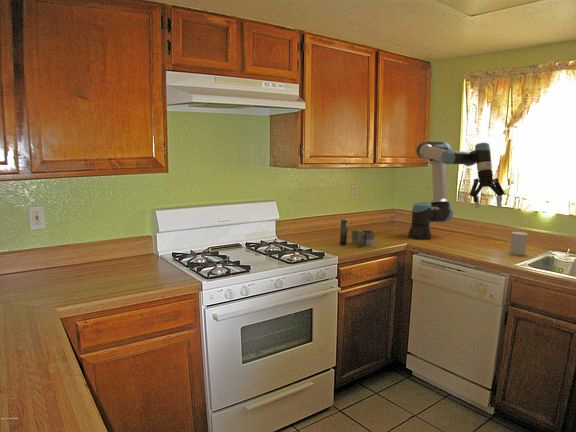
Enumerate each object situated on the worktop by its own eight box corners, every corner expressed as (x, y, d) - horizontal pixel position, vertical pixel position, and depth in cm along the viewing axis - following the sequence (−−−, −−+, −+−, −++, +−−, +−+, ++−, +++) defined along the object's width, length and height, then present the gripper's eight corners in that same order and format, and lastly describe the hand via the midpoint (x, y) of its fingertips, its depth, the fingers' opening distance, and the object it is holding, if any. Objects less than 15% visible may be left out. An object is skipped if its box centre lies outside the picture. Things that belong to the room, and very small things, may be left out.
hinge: (354, 241, 267) (355, 228, 266) (375, 244, 259) (376, 231, 258) (345, 245, 255) (345, 232, 254) (366, 248, 248) (367, 235, 246)
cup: (528, 255, 241) (530, 234, 239) (514, 255, 241) (517, 234, 239) (519, 251, 249) (521, 231, 247) (506, 251, 249) (508, 231, 247)
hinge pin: (341, 243, 260) (342, 217, 257) (348, 244, 257) (349, 218, 254) (338, 244, 256) (339, 218, 253) (344, 246, 253) (346, 219, 251)
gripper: (468, 168, 231) (472, 207, 228) (508, 168, 235) (513, 206, 233) (460, 172, 238) (464, 209, 235) (499, 171, 243) (503, 208, 240)
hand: (488, 207), depth 234 cm, fingers open, 13 cm apart
